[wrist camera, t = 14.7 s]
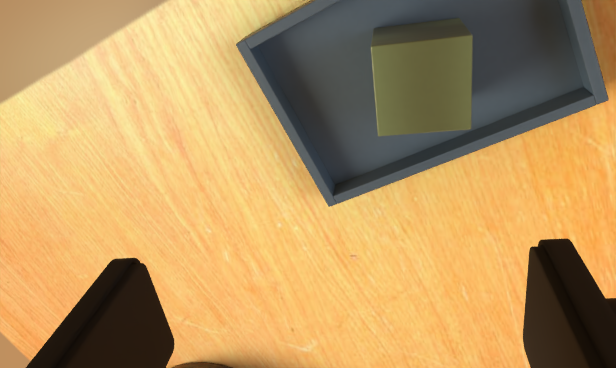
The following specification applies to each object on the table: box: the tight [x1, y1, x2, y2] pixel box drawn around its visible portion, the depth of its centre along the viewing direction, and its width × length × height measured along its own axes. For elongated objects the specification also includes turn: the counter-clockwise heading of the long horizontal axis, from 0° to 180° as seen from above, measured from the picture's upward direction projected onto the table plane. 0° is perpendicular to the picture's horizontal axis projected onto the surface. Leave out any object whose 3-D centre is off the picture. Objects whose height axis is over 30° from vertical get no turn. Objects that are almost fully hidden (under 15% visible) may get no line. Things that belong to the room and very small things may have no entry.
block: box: [371, 18, 473, 136], centre depth 24 cm, size 4×4×4 cm
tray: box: [236, 0, 608, 207], centre depth 26 cm, size 16×11×2 cm
